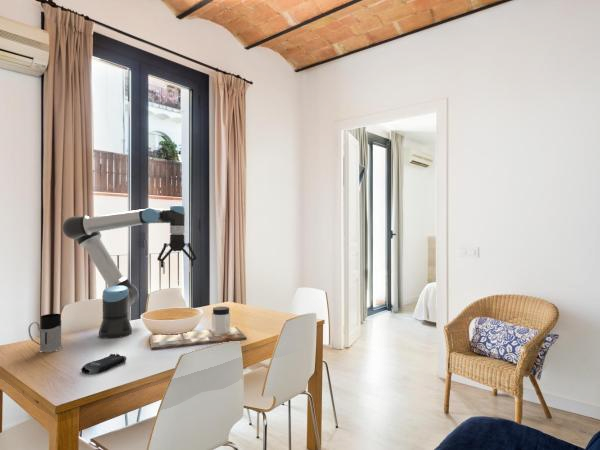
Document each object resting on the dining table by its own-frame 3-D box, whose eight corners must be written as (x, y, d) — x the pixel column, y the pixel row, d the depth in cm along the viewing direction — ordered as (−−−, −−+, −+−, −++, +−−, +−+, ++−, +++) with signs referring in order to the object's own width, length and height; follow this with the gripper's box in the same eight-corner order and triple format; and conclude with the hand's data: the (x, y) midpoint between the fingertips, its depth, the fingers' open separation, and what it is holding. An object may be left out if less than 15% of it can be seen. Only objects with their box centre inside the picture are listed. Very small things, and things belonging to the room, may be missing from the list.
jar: (222, 335, 193) (222, 310, 193) (208, 333, 196) (208, 309, 196) (232, 330, 201) (233, 307, 201) (219, 328, 204) (219, 305, 204)
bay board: (151, 349, 173) (151, 346, 173) (149, 337, 192) (149, 335, 192) (246, 339, 190) (246, 336, 190) (236, 329, 209) (236, 326, 209)
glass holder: (67, 347, 176) (67, 314, 176) (36, 357, 163) (36, 321, 163) (52, 345, 179) (52, 312, 179) (21, 355, 166) (21, 319, 166)
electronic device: (107, 364, 160) (75, 371, 147) (110, 350, 161) (78, 356, 147) (125, 370, 157) (93, 378, 143) (128, 356, 157) (96, 363, 144)
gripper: (153, 234, 206) (152, 275, 206) (201, 234, 216) (201, 272, 216) (152, 233, 213) (152, 273, 213) (199, 233, 222) (199, 271, 222)
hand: (177, 273), depth 214 cm, fingers open, 13 cm apart
